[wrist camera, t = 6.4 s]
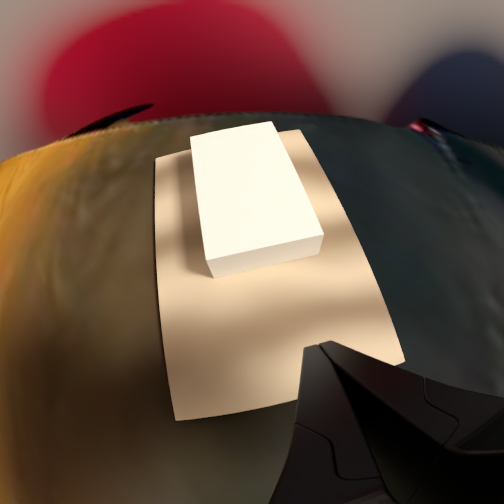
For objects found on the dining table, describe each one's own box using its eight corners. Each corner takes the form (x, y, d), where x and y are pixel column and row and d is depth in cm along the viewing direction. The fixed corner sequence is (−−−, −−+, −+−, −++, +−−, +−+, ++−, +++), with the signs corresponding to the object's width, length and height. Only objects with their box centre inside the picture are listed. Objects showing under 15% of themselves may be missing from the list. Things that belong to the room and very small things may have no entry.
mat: (402, 362, 15) (405, 361, 14) (177, 420, 14) (175, 420, 14) (299, 132, 26) (299, 129, 25) (157, 161, 25) (155, 158, 25)
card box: (323, 234, 16) (271, 121, 22) (205, 260, 16) (190, 137, 22) (318, 254, 18) (272, 143, 24) (213, 278, 18) (196, 158, 24)
